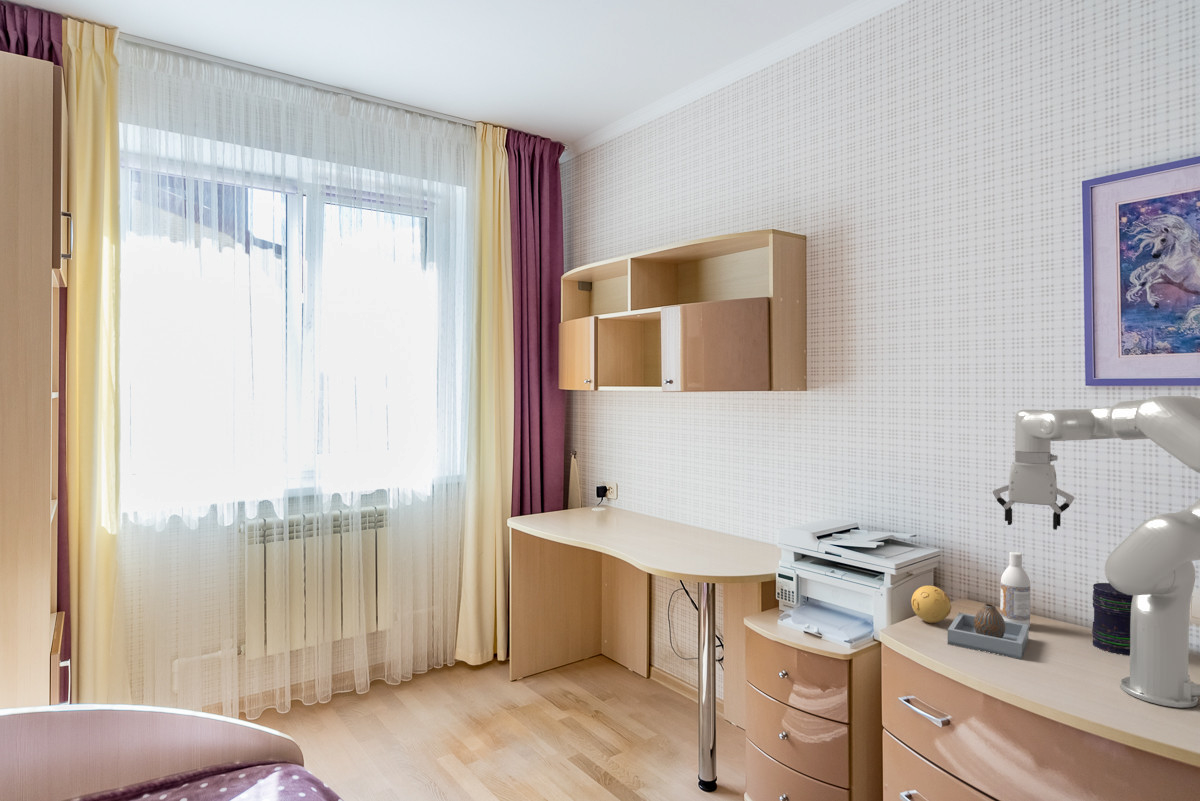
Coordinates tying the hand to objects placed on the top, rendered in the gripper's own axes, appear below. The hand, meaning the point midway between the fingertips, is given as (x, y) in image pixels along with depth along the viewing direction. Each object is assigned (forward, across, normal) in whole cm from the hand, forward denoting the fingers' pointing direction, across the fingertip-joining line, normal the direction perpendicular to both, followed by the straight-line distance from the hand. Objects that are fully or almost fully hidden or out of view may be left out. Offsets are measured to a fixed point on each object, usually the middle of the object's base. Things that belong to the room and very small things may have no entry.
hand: (1032, 526), depth 169 cm
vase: (+30, +9, +4) cm, 31 cm away
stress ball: (+30, +24, -3) cm, 39 cm away
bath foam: (+30, +5, -14) cm, 34 cm away
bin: (+30, +9, +4) cm, 32 cm away
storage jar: (+30, -17, -11) cm, 37 cm away
